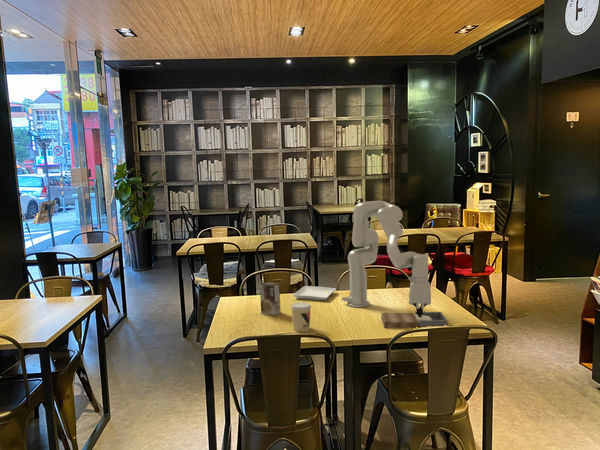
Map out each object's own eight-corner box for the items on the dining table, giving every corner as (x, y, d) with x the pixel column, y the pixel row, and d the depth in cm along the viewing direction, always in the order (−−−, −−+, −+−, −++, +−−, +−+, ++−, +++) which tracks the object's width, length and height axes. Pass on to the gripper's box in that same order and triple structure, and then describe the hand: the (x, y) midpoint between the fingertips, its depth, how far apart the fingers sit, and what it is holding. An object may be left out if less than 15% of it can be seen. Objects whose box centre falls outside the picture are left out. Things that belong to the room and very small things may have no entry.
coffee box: (281, 312, 258) (280, 283, 256) (275, 315, 252) (274, 285, 250) (266, 310, 262) (265, 281, 260) (260, 313, 256) (259, 284, 254)
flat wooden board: (384, 328, 230) (384, 322, 229) (381, 318, 244) (381, 312, 243) (418, 327, 229) (418, 321, 229) (412, 318, 243) (413, 312, 242)
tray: (418, 327, 229) (418, 320, 229) (413, 318, 243) (413, 312, 242) (447, 327, 228) (447, 320, 228) (440, 318, 242) (441, 311, 241)
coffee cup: (304, 333, 225) (304, 308, 223) (288, 330, 230) (287, 306, 228) (314, 327, 233) (314, 303, 231) (298, 324, 238) (297, 301, 236)
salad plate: (326, 302, 275) (326, 297, 275) (292, 300, 282) (292, 294, 282) (336, 293, 295) (336, 287, 294) (304, 290, 302) (304, 285, 302)
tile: (417, 322, 231) (418, 318, 231) (414, 318, 238) (415, 314, 238) (431, 325, 231) (432, 321, 231) (428, 320, 238) (429, 316, 238)
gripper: (405, 281, 230) (405, 318, 232) (437, 281, 229) (436, 318, 231) (403, 277, 237) (403, 313, 239) (433, 277, 236) (433, 313, 239)
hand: (419, 315), depth 235 cm, fingers closed
